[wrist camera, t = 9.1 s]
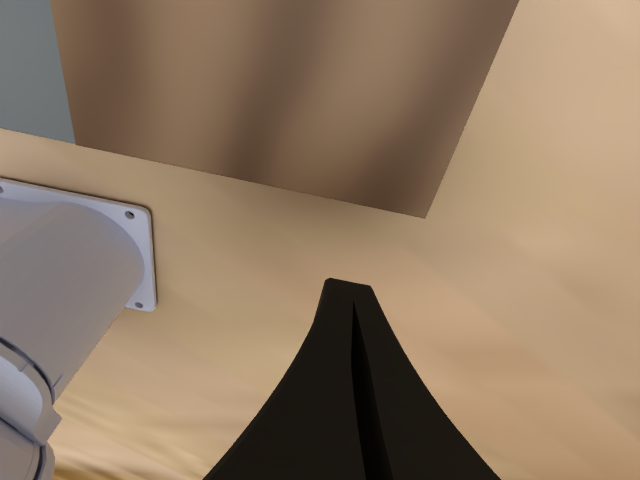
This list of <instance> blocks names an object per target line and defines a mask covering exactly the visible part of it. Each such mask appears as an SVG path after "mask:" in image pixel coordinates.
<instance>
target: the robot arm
mask: <svg viewBox="0 0 640 480" xmlns="http://www.w3.org/2000/svg"><path fill="white" fill-rule="evenodd" d="M0 186H1V187H2V188H3V189H2V188H1V187H0V480H52V477H53V472H54V467H55V456H54V452H53V449H52V447H51V446H50V445H49V443H48V442H47V440H48V439H49V437H50V436H51V434H52V433H53V431H54V430H55V428H56V427H57V426H58V424H59V423H60V421H61V420H62V418H61V416H60V415H59V414H58V413H56V411H55V410H54V409H53V404H54V403H55V401H56V400H57V399H58V397H59V396H60V395H61V393H62V392H63V390H64V389H65V388H66V386H67V385H68V383H69V382H70V381H71V379H72V378H73V377H74V375H75V374H76V372H77V371H78V370H79V368H80V367H81V366H82V364H83V363H84V361H85V360H86V359H87V357H88V356H89V354H90V353H91V352H92V350H93V349H94V348H95V346H96V345H97V343H98V342H99V341H100V339H101V338H102V337H103V335H104V334H105V332H106V331H107V330H108V328H109V327H110V325H111V324H112V323H113V321H114V320H115V319H116V317H117V316H118V314H119V313H120V312H121V310H122V309H123V308H124V307H125V308H131V309H136V310H142V311H148V312H151V311H153V310H154V309H155V307H156V305H157V302H156V287H155V273H154V258H153V243H152V228H151V215H150V212H149V211H148V210H147V209H146V208H144V207H141V206H137V205H132V204H127V203H122V202H117V201H112V200H107V199H102V198H97V197H92V196H87V195H82V194H77V193H72V192H67V191H62V190H58V189H53V188H48V187H43V186H38V185H33V184H28V183H23V182H18V181H13V180H8V179H3V178H0ZM129 211H130V212H132V213H133V214H134V216H133V215H131V214H130V213H129ZM203 480H501V479H500V478H499V477H498V476H497V475H496V474H495V473H494V472H493V470H492V469H491V468H490V467H489V466H488V465H487V464H486V463H485V461H484V460H483V459H482V458H481V457H480V456H479V454H478V453H477V452H476V451H475V450H474V448H473V447H472V446H471V445H470V444H469V443H468V441H467V440H466V439H465V438H464V437H463V435H462V434H461V433H460V432H459V431H458V429H457V428H456V427H455V426H454V424H453V423H452V422H451V421H450V419H449V418H448V417H447V415H446V414H445V413H444V412H443V410H442V409H441V407H440V406H439V405H438V403H437V402H436V400H435V399H434V398H433V396H432V395H431V393H430V392H429V390H428V389H427V387H426V386H425V384H424V383H423V381H422V380H421V378H420V377H419V375H418V374H417V372H416V370H415V369H414V367H413V366H412V364H411V362H410V361H409V359H408V357H407V356H406V354H405V352H404V350H403V349H402V347H401V345H400V343H399V341H398V340H397V338H396V336H395V334H394V332H393V330H392V329H391V327H390V325H389V323H388V321H387V319H386V317H385V315H384V313H383V311H382V309H381V306H380V304H379V302H378V300H377V298H376V296H375V294H374V291H373V289H372V288H371V286H369V285H364V284H358V283H353V282H348V281H343V280H338V279H333V278H329V279H327V280H325V283H324V286H323V290H322V293H321V297H320V300H319V304H318V308H317V311H316V315H315V318H314V322H313V324H312V326H311V329H310V331H309V333H308V335H307V337H306V338H305V340H304V342H303V344H302V346H301V348H300V350H299V352H298V353H297V355H296V357H295V359H294V360H293V362H292V364H291V365H290V367H289V369H288V370H287V372H286V373H285V375H284V376H283V378H282V379H281V381H280V383H279V384H278V385H277V387H276V388H275V390H274V391H273V393H272V394H271V396H270V397H269V398H268V400H267V401H266V403H265V404H264V405H263V407H262V408H261V410H260V411H259V412H258V414H257V415H256V416H255V417H254V419H253V420H252V421H251V423H250V424H249V425H248V426H247V428H246V429H245V430H244V431H243V433H242V434H241V435H240V436H239V438H238V439H237V440H236V441H235V443H234V444H233V445H232V446H231V448H230V449H229V450H228V451H227V452H226V454H225V455H224V456H223V457H222V458H221V459H220V460H219V462H218V463H217V464H216V465H215V466H214V467H213V468H212V469H211V471H210V472H209V473H208V474H207V475H206V476H205V477H204V478H203Z"/></svg>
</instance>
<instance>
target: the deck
mask: <svg viewBox="0 0 640 480" xmlns="http://www.w3.org/2000/svg"><path fill="white" fill-rule="evenodd" d="M518 2H519V0H50V4H51V9H52V15H53V21H54V26H55V32H56V37H57V43H58V49H59V54H60V60H61V65H62V71H63V76H64V82H65V88H66V93H67V99H68V104H69V110H70V115H71V121H72V127H73V132H74V138H75V143H76V145H79V146H84V147H89V148H93V149H98V150H103V151H108V152H112V153H117V154H122V155H126V156H131V157H136V158H141V159H145V160H150V161H155V162H160V163H164V164H169V165H174V166H179V167H183V168H188V169H193V170H198V171H202V172H207V173H212V174H216V175H221V176H226V177H231V178H235V179H240V180H245V181H250V182H254V183H259V184H264V185H269V186H273V187H278V188H283V189H288V190H292V191H297V192H302V193H306V194H311V195H316V196H321V197H325V198H330V199H335V200H340V201H344V202H349V203H354V204H359V205H363V206H368V207H373V208H378V209H382V210H387V211H392V212H396V213H401V214H406V215H411V216H415V217H420V218H426V216H427V213H428V211H429V209H430V206H431V204H432V202H433V199H434V197H435V195H436V192H437V190H438V188H439V185H440V183H441V181H442V178H443V176H444V174H445V171H446V169H447V167H448V165H449V162H450V160H451V158H452V155H453V153H454V151H455V148H456V146H457V144H458V141H459V139H460V137H461V134H462V132H463V130H464V127H465V125H466V123H467V120H468V118H469V116H470V113H471V111H472V109H473V106H474V104H475V102H476V99H477V97H478V95H479V93H480V90H481V88H482V86H483V83H484V81H485V79H486V76H487V74H488V72H489V69H490V67H491V65H492V62H493V60H494V58H495V55H496V53H497V51H498V48H499V46H500V44H501V41H502V39H503V37H504V34H505V32H506V30H507V27H508V25H509V23H510V21H511V18H512V16H513V14H514V11H515V9H516V7H517V4H518Z"/></svg>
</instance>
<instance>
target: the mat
mask: <svg viewBox="0 0 640 480" xmlns="http://www.w3.org/2000/svg"><path fill="white" fill-rule="evenodd" d="M0 128H3V129H7V130H12V131H17V132H21V133H26V134H31V135H36V136H40V137H45V138H50V139H55V140H59V141H64V142H69V143H74V144H76V143H75V138H74V132H73V127H72V121H71V115H70V110H69V104H68V99H67V93H66V88H65V82H64V76H63V71H62V65H61V60H60V54H59V49H58V43H57V37H56V32H55V26H54V21H53V15H52V9H51V4H50V0H0Z"/></svg>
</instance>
